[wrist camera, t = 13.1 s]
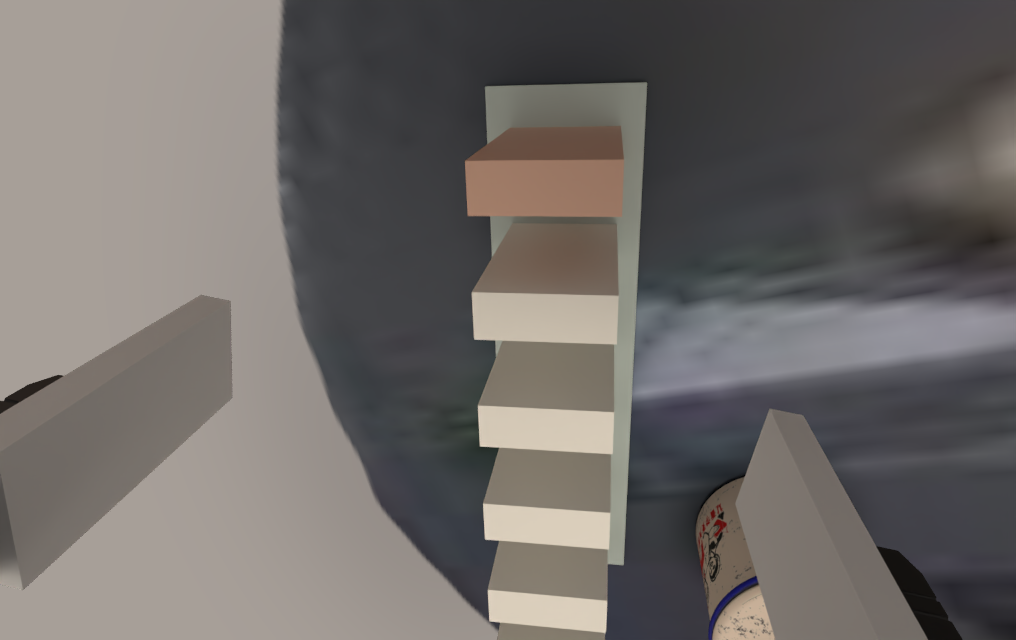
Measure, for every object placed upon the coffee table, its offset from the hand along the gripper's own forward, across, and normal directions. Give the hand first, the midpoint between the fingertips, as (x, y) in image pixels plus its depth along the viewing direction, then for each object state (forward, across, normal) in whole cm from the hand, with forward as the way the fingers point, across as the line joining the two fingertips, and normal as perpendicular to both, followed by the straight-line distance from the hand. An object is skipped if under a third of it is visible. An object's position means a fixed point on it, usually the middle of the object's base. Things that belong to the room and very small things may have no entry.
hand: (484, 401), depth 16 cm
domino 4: (+21, +3, -11) cm, 24 cm away
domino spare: (+20, 0, +4) cm, 21 cm away
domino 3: (+21, +2, -6) cm, 22 cm away
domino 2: (+20, +1, -1) cm, 21 cm away
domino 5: (+21, +4, -16) cm, 26 cm away
